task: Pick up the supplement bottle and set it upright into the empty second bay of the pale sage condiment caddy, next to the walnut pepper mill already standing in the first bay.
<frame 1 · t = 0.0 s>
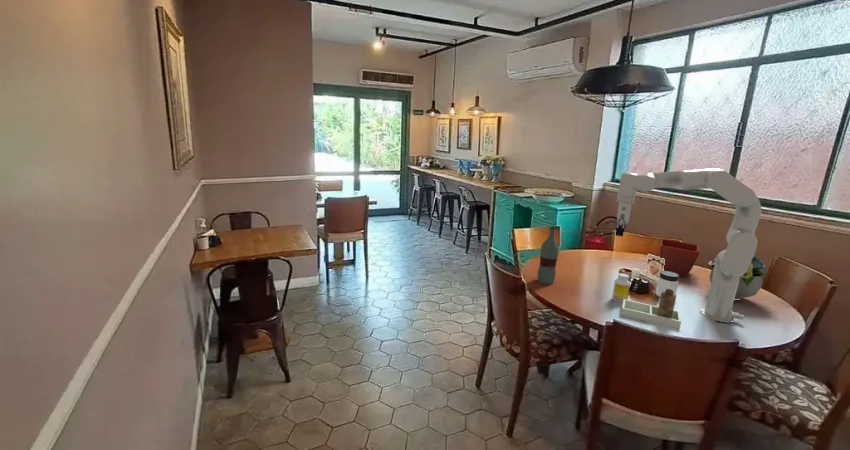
hand: (619, 233, 199), 31 cm above the table, fingers open, 9 cm apart
flower arrangement: (730, 297, 211), on the table
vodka: (545, 281, 218), on the table
caddy: (649, 318, 181), on the table
plant pot: (673, 272, 245), on the table
jar: (664, 296, 208), on the table
supplement bottle: (619, 300, 199), on the table
pepper mill: (663, 319, 179), point 1 cm above the table, touching caddy
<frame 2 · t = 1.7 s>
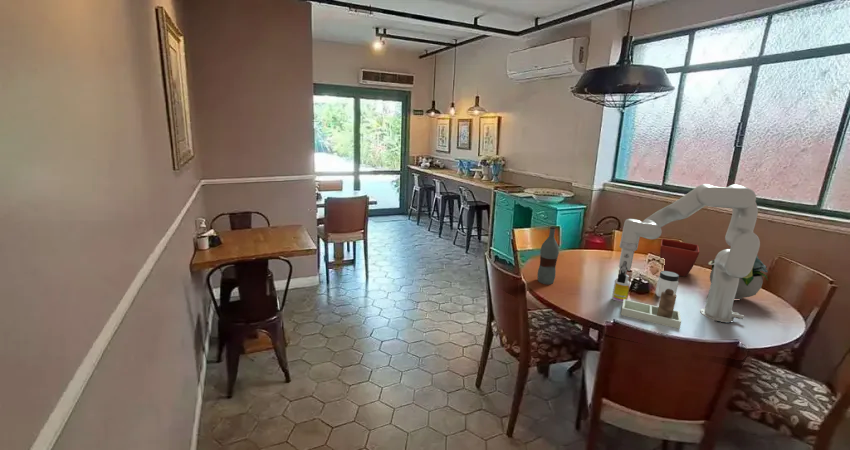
hand: (621, 279, 197), 11 cm above the table, fingers open, 9 cm apart
nothing on the table moved.
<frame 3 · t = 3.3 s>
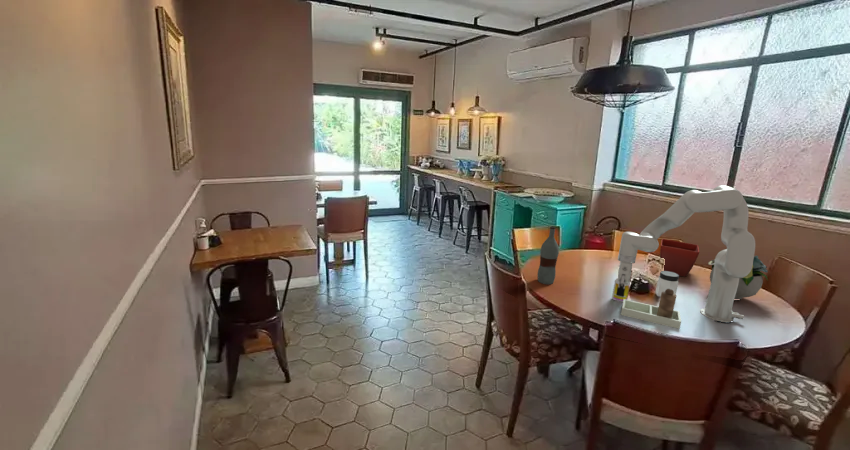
hand: (620, 292, 198), 4 cm above the table, fingers closed on supplement bottle, 6 cm apart
supplement bottle: (619, 300, 199), on the table, touching gripper
everything else where it was.
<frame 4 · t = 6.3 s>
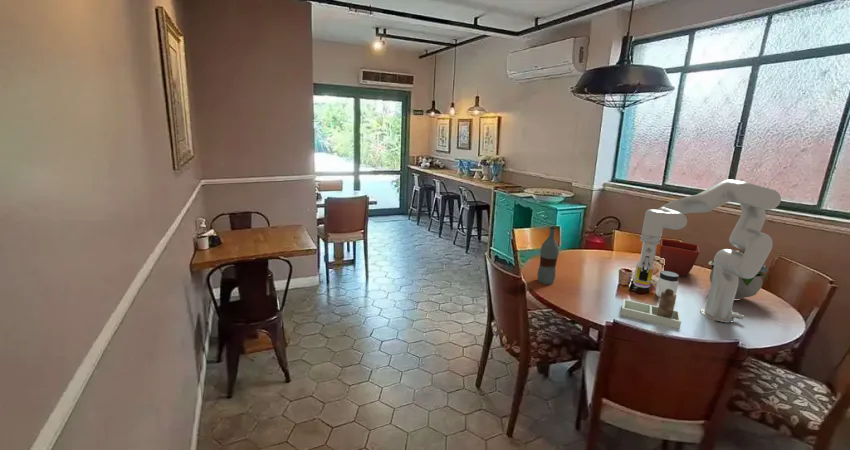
hand: (642, 277, 180), 18 cm above the table, fingers closed on supplement bottle, 6 cm apart
supplement bottle: (641, 285, 181), point 14 cm above the table, touching gripper
everything else where it was.
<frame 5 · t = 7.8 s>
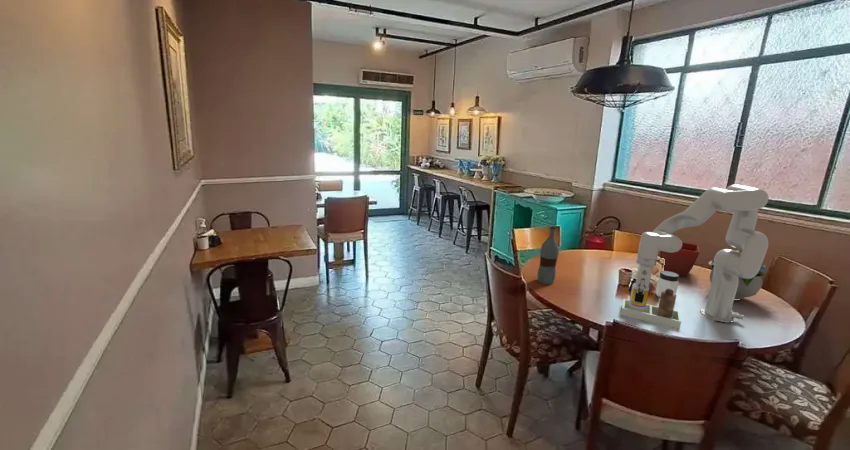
hand: (638, 298, 182), 8 cm above the table, fingers closed on supplement bottle, 6 cm apart
supplement bottle: (636, 306, 183), point 4 cm above the table, touching gripper
everything else where it was.
when the fingers open (6 cm above the table, at t = 9.2 s): supplement bottle drops 1 cm, resting on caddy.
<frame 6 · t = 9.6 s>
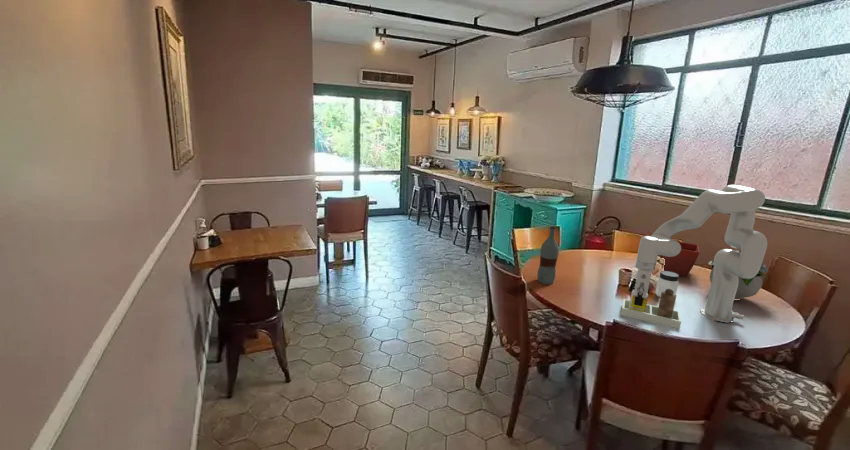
hand: (638, 301, 182), 7 cm above the table, fingers open, 9 cm apart
supplement bottle: (636, 313, 184), point 1 cm above the table, touching caddy
everything else where it was.
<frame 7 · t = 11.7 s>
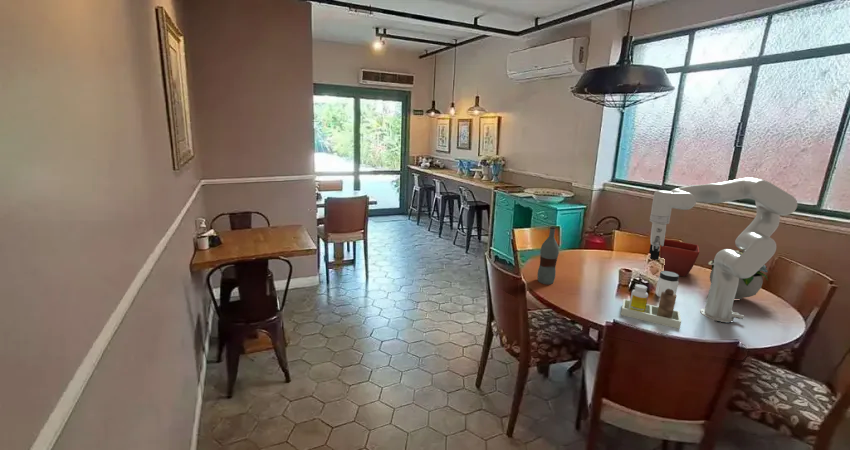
hand: (653, 256, 183), 26 cm above the table, fingers open, 9 cm apart
nothing on the table moved.
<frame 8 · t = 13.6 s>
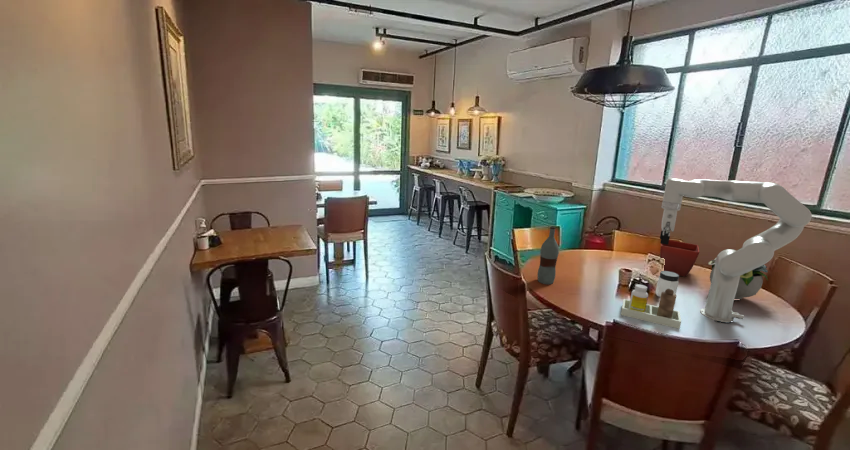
hand: (663, 241, 193), 30 cm above the table, fingers open, 9 cm apart
nothing on the table moved.
at the end: supplement bottle 0.2 cm from the target spot on the caddy, point 0.6 cm above the caddy's base; supplement bottle tilted 0°; pepper mill moved 0.0 cm from its start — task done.
